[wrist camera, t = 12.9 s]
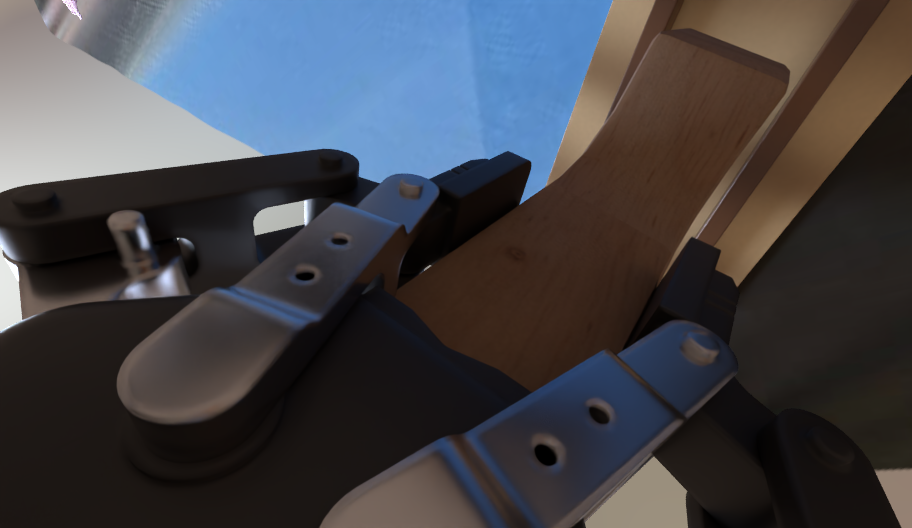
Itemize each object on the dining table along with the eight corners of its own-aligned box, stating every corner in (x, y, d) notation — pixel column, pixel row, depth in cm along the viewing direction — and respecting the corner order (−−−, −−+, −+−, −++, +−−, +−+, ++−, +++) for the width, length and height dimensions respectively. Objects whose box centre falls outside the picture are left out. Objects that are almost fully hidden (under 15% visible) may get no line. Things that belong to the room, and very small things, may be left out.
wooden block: (682, 24, 17) (363, 54, 4) (796, 67, 16) (792, 289, 3) (584, 203, 23) (323, 438, 10) (660, 247, 22) (467, 581, 9)
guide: (658, -118, 19) (647, -127, 18) (1018, -60, 15) (1040, -67, 13) (538, 211, 30) (525, 220, 29) (721, 304, 26) (717, 320, 24)
